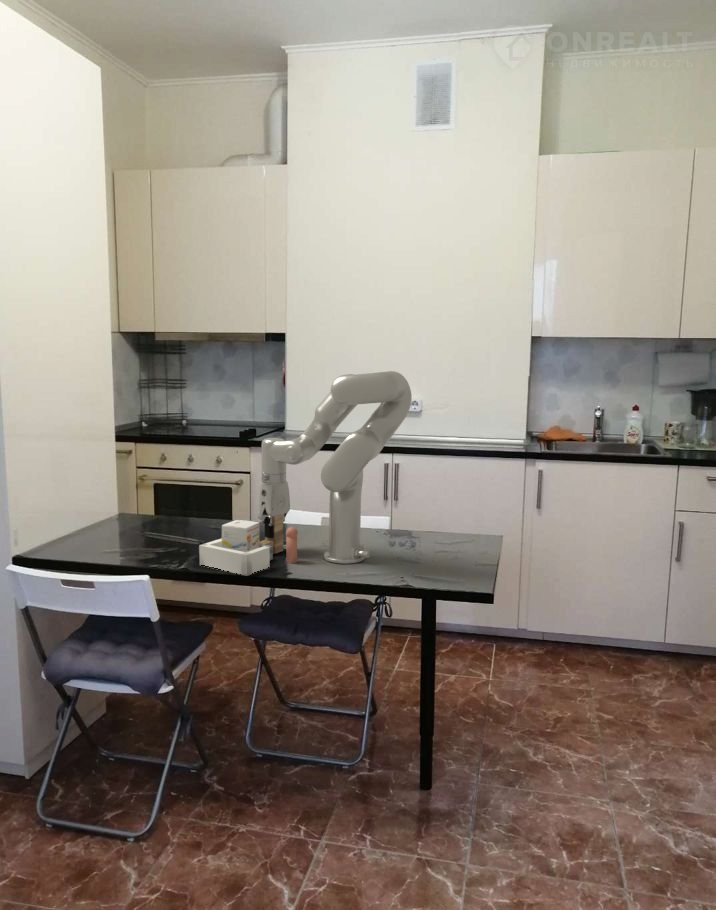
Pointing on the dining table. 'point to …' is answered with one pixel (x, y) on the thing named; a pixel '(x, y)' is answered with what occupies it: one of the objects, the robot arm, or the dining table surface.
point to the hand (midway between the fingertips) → (274, 535)
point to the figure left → (291, 545)
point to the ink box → (241, 535)
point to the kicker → (275, 537)
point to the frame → (234, 558)
